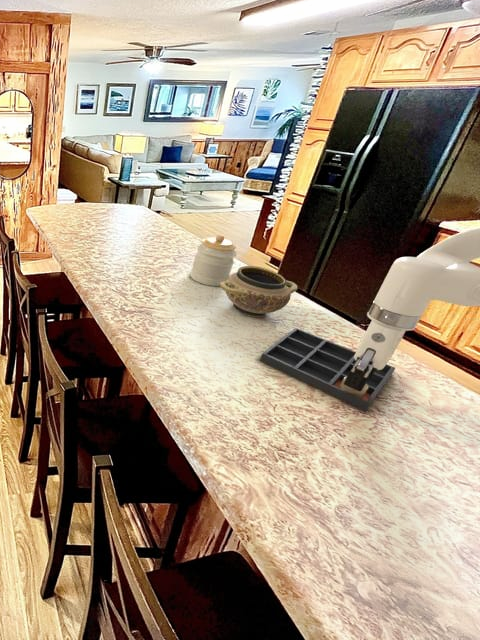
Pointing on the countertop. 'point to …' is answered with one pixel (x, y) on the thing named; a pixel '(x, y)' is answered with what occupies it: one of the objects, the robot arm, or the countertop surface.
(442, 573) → the countertop surface
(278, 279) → the ceramic bowl
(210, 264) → the jar
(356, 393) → the cylinder
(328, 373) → the grid
